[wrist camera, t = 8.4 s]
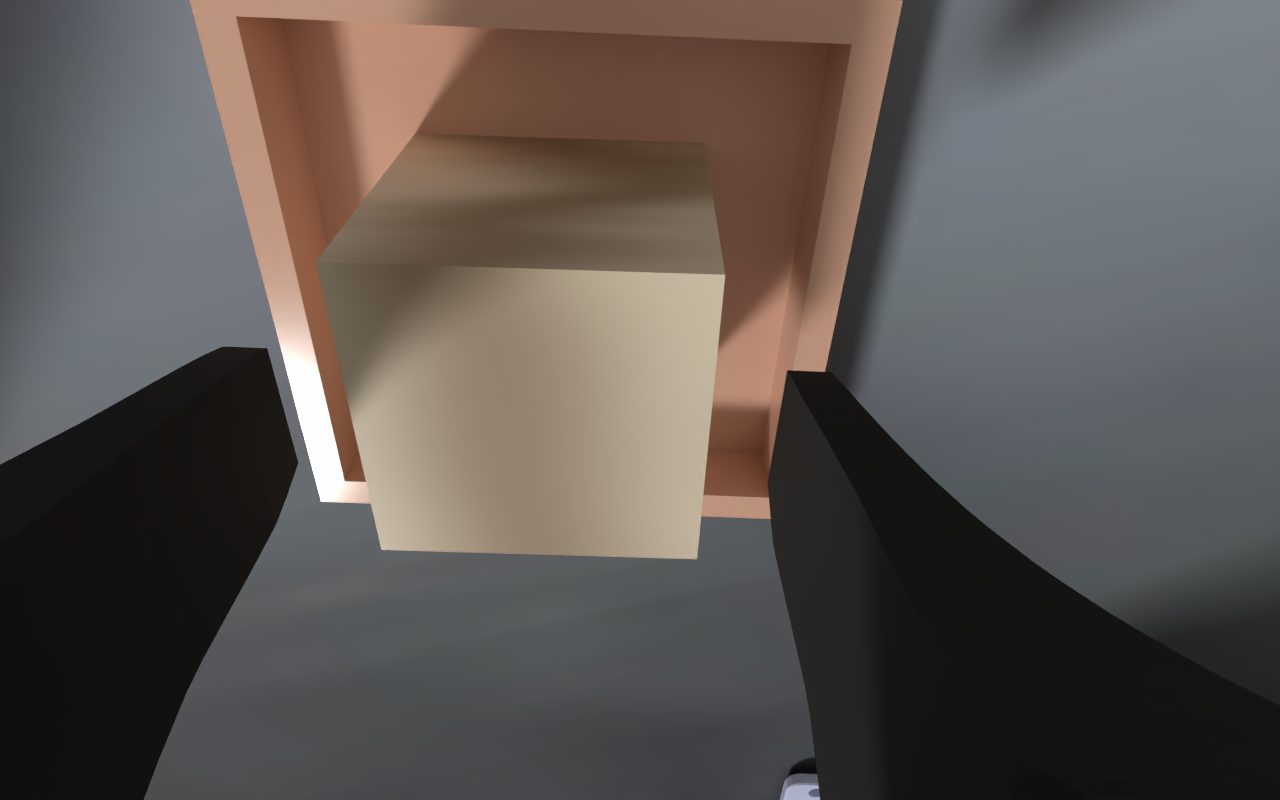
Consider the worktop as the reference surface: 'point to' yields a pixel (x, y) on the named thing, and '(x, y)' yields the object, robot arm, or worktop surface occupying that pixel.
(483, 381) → the beech block
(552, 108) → the terracotta tray
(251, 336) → the worktop surface
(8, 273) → the worktop surface
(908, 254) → the worktop surface
